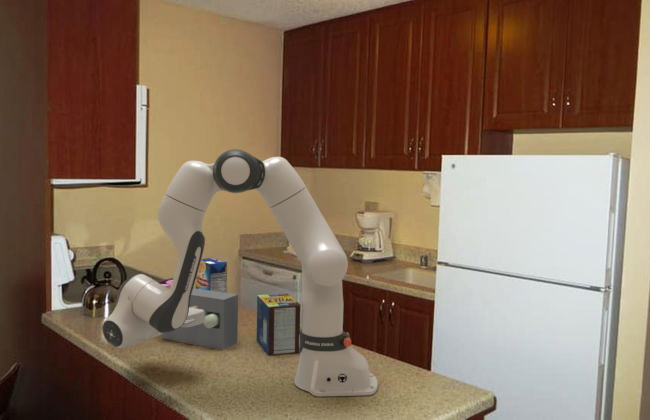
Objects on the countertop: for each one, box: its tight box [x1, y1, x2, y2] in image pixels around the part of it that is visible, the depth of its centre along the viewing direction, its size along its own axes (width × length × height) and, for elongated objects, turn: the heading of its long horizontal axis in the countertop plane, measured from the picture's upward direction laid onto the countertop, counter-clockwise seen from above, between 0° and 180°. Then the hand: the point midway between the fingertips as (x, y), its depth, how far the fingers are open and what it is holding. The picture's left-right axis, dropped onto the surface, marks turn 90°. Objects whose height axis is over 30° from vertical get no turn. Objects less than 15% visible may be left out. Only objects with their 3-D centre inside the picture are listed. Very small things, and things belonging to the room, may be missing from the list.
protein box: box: [256, 292, 302, 356], centre depth 181 cm, size 10×15×16 cm
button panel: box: [161, 287, 239, 351], centre depth 185 cm, size 24×8×16 cm, turn 66°
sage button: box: [203, 313, 220, 328], centre depth 177 cm, size 4×4×4 cm
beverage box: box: [195, 257, 228, 293], centre depth 209 cm, size 7×11×22 cm, turn 40°
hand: (187, 307), depth 165 cm, fingers open, 5 cm apart
